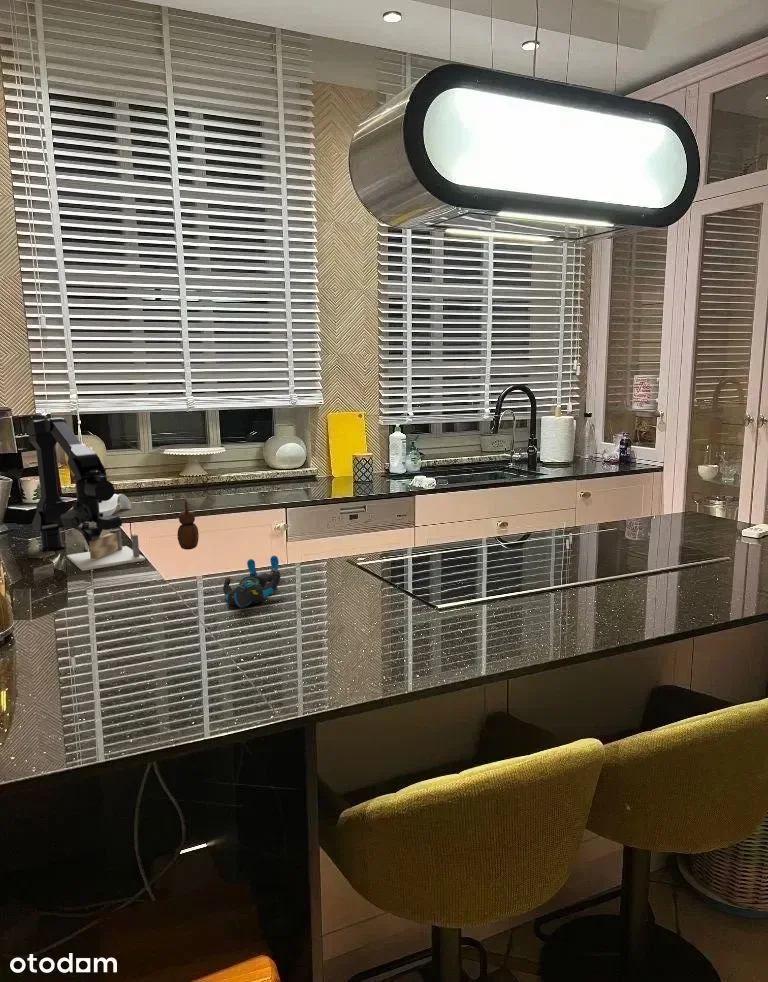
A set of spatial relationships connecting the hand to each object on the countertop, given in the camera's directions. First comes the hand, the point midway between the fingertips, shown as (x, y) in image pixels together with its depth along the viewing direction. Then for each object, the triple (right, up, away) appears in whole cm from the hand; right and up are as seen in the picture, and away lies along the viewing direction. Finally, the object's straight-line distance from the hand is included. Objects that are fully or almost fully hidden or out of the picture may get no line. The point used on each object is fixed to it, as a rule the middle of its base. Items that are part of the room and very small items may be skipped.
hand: (92, 550), depth 216 cm
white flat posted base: (+4, -3, 0) cm, 5 cm away
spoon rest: (-21, +8, +71) cm, 75 cm away
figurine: (+53, -8, -39) cm, 66 cm away
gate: (+3, -1, +2) cm, 4 cm away
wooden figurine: (+25, 0, +10) cm, 27 cm away
